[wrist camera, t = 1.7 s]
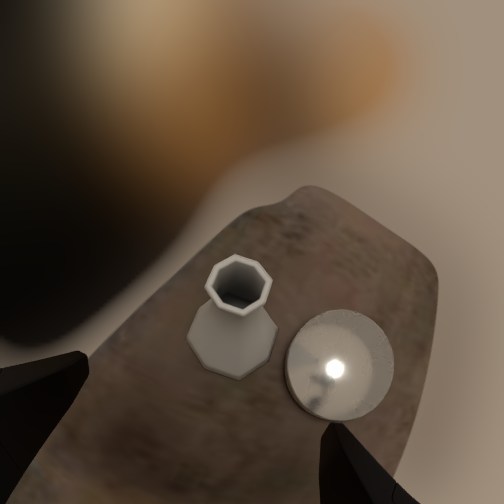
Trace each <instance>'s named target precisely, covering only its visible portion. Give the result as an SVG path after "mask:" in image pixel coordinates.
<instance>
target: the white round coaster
mask: <svg viewBox="0 0 504 504" xmlns="http://www.w3.org/2000/svg"><path fill="white" fill-rule="evenodd" d="M284 369H285V379H286V383H287V386H288V389H289V391H290V393H291V395H292V397H293V398H294V400H295V401H296V402H297V403H298V404H299V406H301V407H302V408H303V409H304V410H305V411H307V412H308V413H310V414H312V415H314V416H316V417H318V418H322V419H326V420H351V419H355V418H358V417H361V416H363V415H365V414H367V413H368V412H370V411H371V410H373V409H374V408H375V407H376V406H377V405H378V404H379V403H380V402H381V401H382V400H383V398H384V397H385V395H386V393H387V392H388V390H389V387H390V385H391V382H392V378H393V372H394V358H393V352H392V348H391V346H390V343H389V341H388V339H387V337H386V335H385V334H384V332H383V331H382V330H381V328H380V327H379V326H378V325H377V324H376V323H375V322H374V321H372V320H371V319H370V318H368V317H366V316H365V315H363V314H360V313H358V312H355V311H351V310H331V311H327V312H324V313H322V314H319V315H317V316H316V317H314V318H312V319H311V320H310V321H308V322H307V323H306V324H305V325H304V326H303V327H302V328H301V329H300V331H299V332H298V333H297V334H296V335H295V337H294V338H293V340H292V341H291V343H290V345H289V348H288V350H287V353H286V357H285V365H284Z"/></svg>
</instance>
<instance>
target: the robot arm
mask: <svg viewBox="0 0 504 504" xmlns="http://www.w3.org/2000/svg"><path fill="white" fill-rule="evenodd" d="M88 375H89V365H88V357H87V355H86V354H84V353H82V352H80V351H73V352H70V353H66V354H61V355H58V356H53V357H49V358H45V359H41V360H37V361H32V362H28V363H24V364H19V365H15V366H10V367H5V368H0V504H5V503H6V502H7V500H8V498H9V497H10V495H11V493H12V492H13V490H14V489H15V487H16V485H17V484H18V482H19V481H20V479H21V477H22V476H23V474H24V473H25V471H26V469H27V468H28V466H29V465H30V463H31V462H32V460H33V459H34V457H35V456H36V454H37V453H38V451H39V450H40V448H41V447H42V446H43V444H44V443H45V441H46V440H47V438H48V437H49V435H50V434H51V433H52V431H53V430H54V428H55V427H56V426H57V424H58V423H59V421H60V420H61V419H62V417H63V416H64V415H65V413H66V412H67V410H68V409H69V408H70V406H71V405H72V403H73V402H74V400H75V398H76V396H77V395H78V393H79V391H80V389H81V388H82V386H83V384H84V382H85V381H86V379H87V377H88ZM319 488H320V504H420V503H419V502H418V501H416V500H415V499H414V498H413V497H412V496H411V495H409V494H408V493H407V492H406V491H405V490H404V489H403V488H402V487H401V486H400V485H399V484H398V483H396V481H395V480H394V479H393V478H392V476H391V475H390V474H389V473H388V472H387V471H386V470H385V469H384V468H383V467H382V466H381V465H380V464H379V463H378V462H377V461H376V459H375V458H374V457H373V456H372V455H371V454H370V453H369V452H368V451H367V450H366V449H365V448H364V446H363V445H362V444H361V443H360V442H359V441H358V440H357V439H356V438H355V436H354V435H353V434H352V433H351V432H350V431H349V430H348V429H347V427H346V426H345V425H344V424H343V423H341V422H331V423H330V424H329V425H328V427H327V429H326V430H325V432H324V433H323V435H322V437H321V444H320V463H319Z"/></svg>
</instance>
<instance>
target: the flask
mask: <svg viewBox="0 0 504 504" xmlns="http://www.w3.org/2000/svg"><path fill="white" fill-rule="evenodd" d="M272 281H273V280H272V279H271V277H270V276H269V275H268V274H267V272H266V271H265V270H264V268H263V267H262V266H261V265H260V263H259V262H258V261H255V260H251V259H248V258H245V257H242V256H239V255H236V254H234V255H232V256H230V257H229V258H227V259H225V260H223V261H221V262H219V263H217V264H216V265H214V267H213V269H212V271H211V273H210V276H209V278H208V280H207V282H206V285H205V290H206V291H207V293H208V294H209V296H210V297H211V299H210V300H209V301H208V302H207V303H205V304H204V305H202V306H201V307H200V308H199V309H198V311H197V313H196V315H195V318H194V320H193V322H192V325H191V327H190V329H189V332H188V334H187V336H186V341H187V342H188V344H189V345H190V347H191V349H192V350H193V352H194V353H195V355H196V356H197V358H198V360H199V361H200V363H201V364H202V366H203V367H204V368H205V369H207V370H210V371H213V372H215V373H218V374H221V375H224V376H227V377H230V378H232V379H235V380H238V381H240V380H241V379H243V378H244V377H246V376H247V375H249V374H250V373H252V372H253V371H255V370H256V369H258V368H259V367H261V366H262V365H264V364H265V363H267V362H268V361H269V359H270V356H271V353H272V350H273V346H274V343H275V340H276V337H277V333H278V330H279V329H278V327H277V326H276V325H275V323H274V322H273V321H272V319H271V318H270V317H269V315H268V314H267V312H266V311H265V309H264V308H263V305H265V303H266V300H267V297H268V294H269V291H270V288H271V285H272Z"/></svg>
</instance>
